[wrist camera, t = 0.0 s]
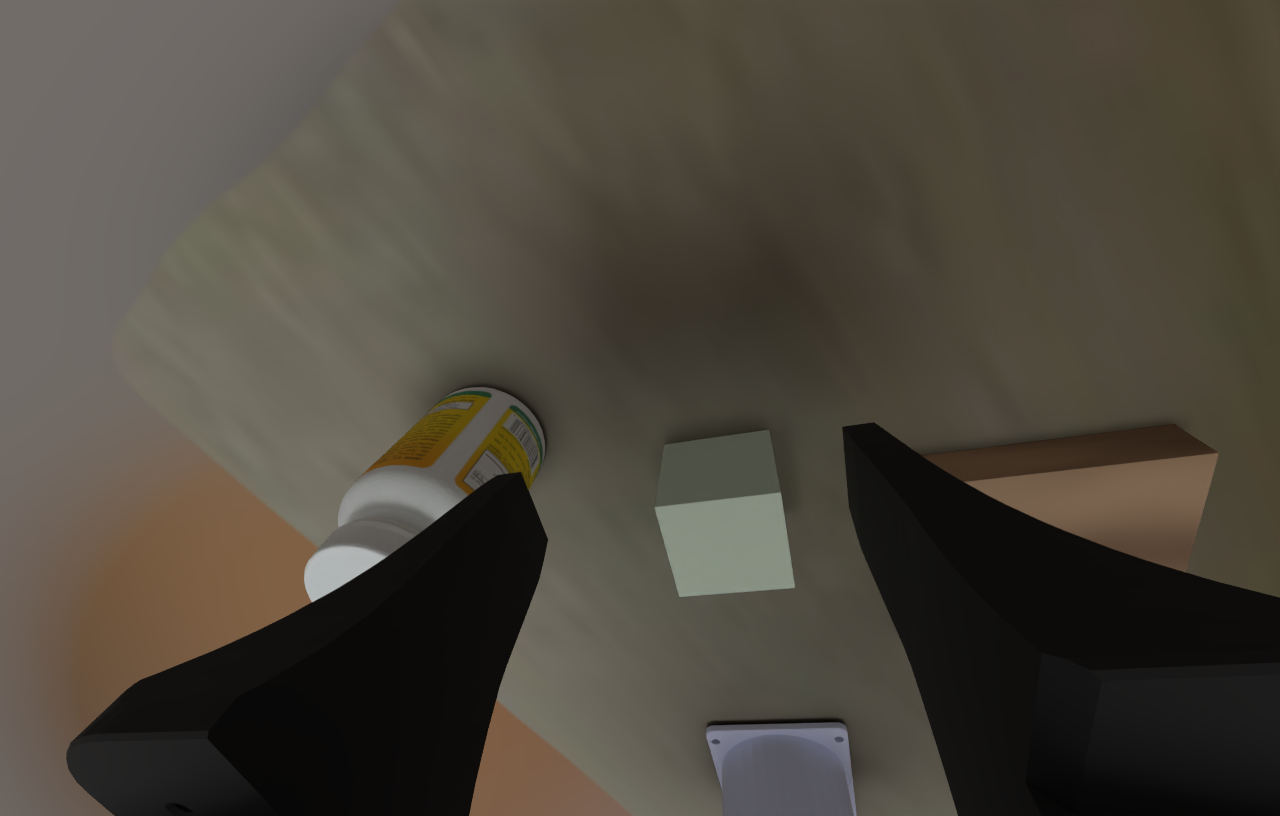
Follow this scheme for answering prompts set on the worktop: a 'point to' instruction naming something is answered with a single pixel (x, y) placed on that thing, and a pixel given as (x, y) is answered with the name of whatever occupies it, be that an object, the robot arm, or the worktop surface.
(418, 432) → the supplement bottle
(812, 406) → the worktop surface
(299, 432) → the worktop surface
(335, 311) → the worktop surface
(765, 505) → the sage block
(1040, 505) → the brown square pad
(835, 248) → the worktop surface
